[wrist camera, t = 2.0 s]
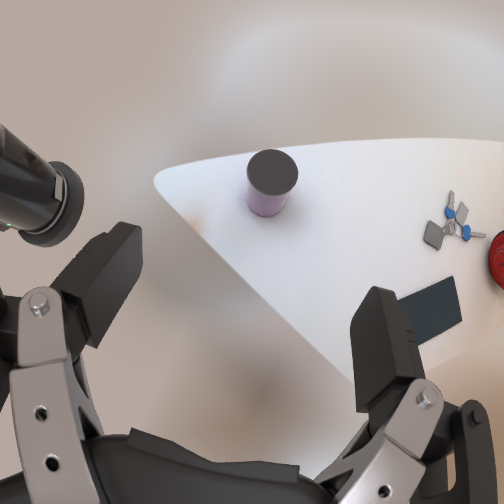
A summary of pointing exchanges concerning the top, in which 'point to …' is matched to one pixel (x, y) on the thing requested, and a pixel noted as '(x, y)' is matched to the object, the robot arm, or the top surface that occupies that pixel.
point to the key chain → (437, 233)
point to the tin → (269, 181)
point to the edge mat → (432, 309)
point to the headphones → (497, 258)
